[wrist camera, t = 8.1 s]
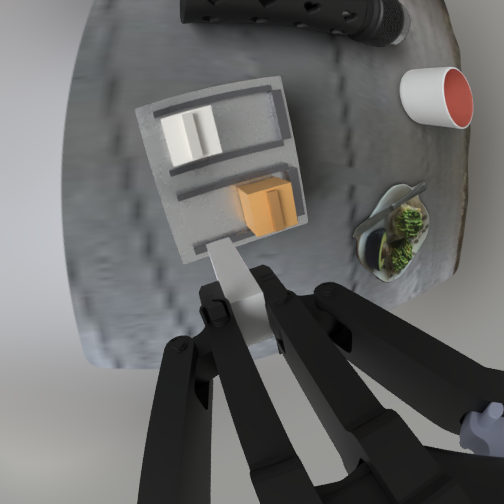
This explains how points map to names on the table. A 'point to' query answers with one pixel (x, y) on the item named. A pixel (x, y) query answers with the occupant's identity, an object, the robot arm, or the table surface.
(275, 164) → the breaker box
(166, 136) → the toggle white
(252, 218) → the toggle orange
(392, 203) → the salad plate
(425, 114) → the cup
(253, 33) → the table surface
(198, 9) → the muzzle brake
